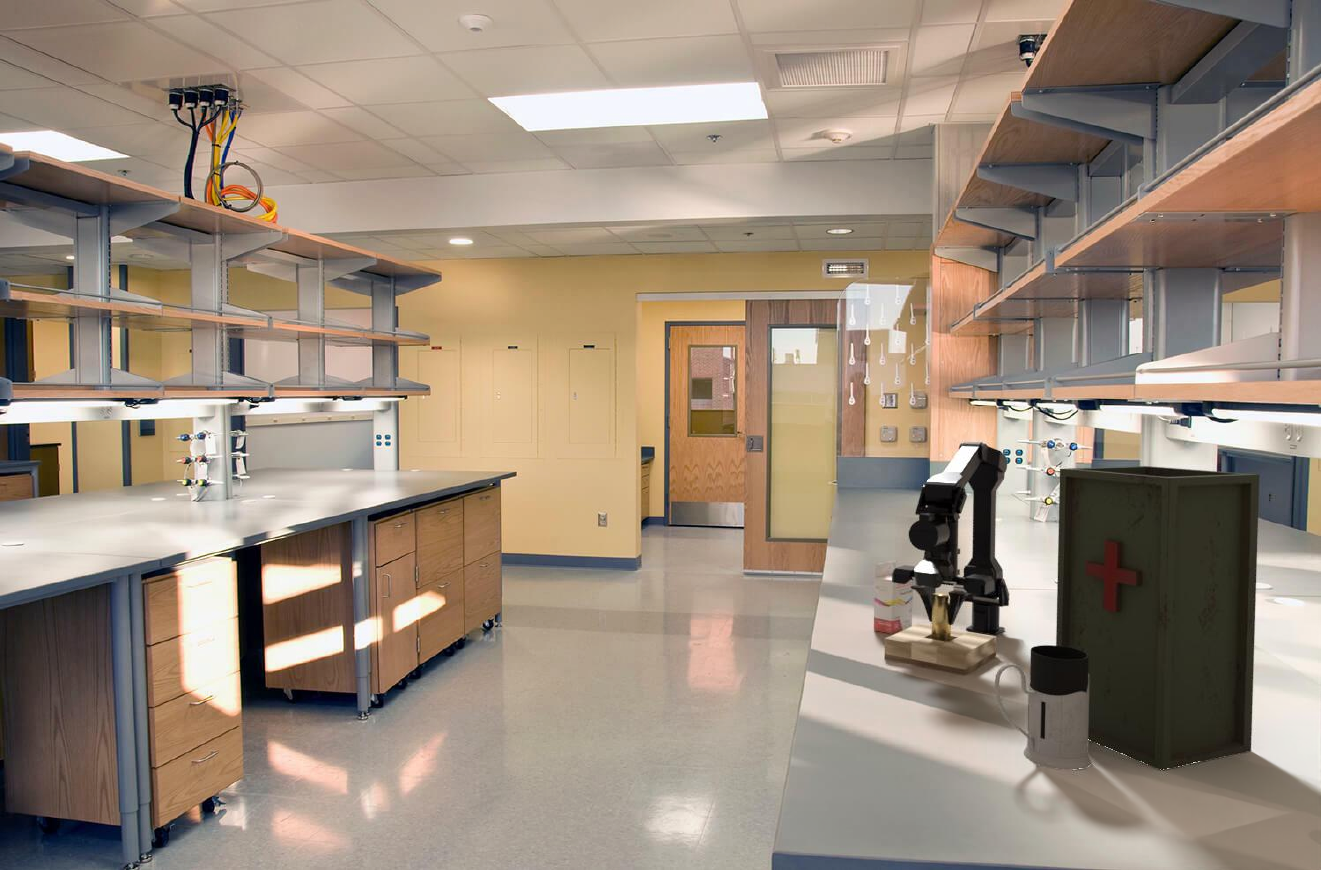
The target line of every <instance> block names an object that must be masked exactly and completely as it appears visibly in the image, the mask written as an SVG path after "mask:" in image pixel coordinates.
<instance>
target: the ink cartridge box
mask: <svg viewBox="0 0 1321 870" xmlns="http://www.w3.org/2000/svg"><path fill="white" fill-rule="evenodd" d="M886 567H887V568H888V569H887V568H886ZM884 568H886V569H884ZM895 568H897V560H895V559H894V560H890V561H885V562H880V563H877V564H876V568H875V576H874V595H873V596H874V598H873V599H874V600H873V601H874V602H873V630H874V631H878V632H882V633H887V634H889V635H890V634H891V635H894V634H896V633H898V632H901V631H903V630H905V629H908V628H910V627H912V626H913V599H914V596H913V595H914V589H911V587H910V586H912V580H910V581H909V582H908V583H907V584H901V583H894V582H892V572H893V570H894V569H895Z"/></svg>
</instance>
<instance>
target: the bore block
mask: <svg viewBox="0 0 1321 870" xmlns="http://www.w3.org/2000/svg"><path fill="white" fill-rule="evenodd" d="M931 629H932V624H931V625H930V624H924V623H917V624H914V625H912V627H910V628H908V629H905V630H903V631H900V632H896V633H893V634H891V635H890V636H887V637H885V638H884V659H885V660H889V661H894V662H899V663H904V664H909V665H913V666H917V667H918V666H919V667H924V668H929V669H935V670H939V671H944V672H948V673H949V672H950V673H953V674H959V675H965V676H966V675H968V674H969V673H971V672H972V671H975V670H976V669H977V668H980V667H981V666H982V665H984V664H986V663H988V662H989V661H991V660H992V659H994V658H996V657H997V636H996V635H991V634H985V633H979V632H973V631H967V630H962V629H955V628H954V629H953V628H951V641H950V642H944V641H939V640H933V639H931Z"/></svg>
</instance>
